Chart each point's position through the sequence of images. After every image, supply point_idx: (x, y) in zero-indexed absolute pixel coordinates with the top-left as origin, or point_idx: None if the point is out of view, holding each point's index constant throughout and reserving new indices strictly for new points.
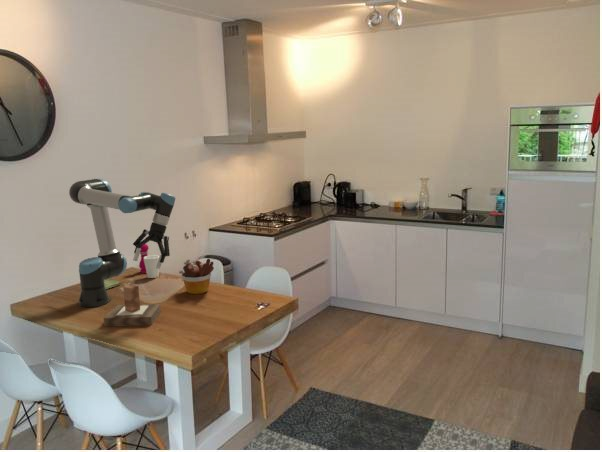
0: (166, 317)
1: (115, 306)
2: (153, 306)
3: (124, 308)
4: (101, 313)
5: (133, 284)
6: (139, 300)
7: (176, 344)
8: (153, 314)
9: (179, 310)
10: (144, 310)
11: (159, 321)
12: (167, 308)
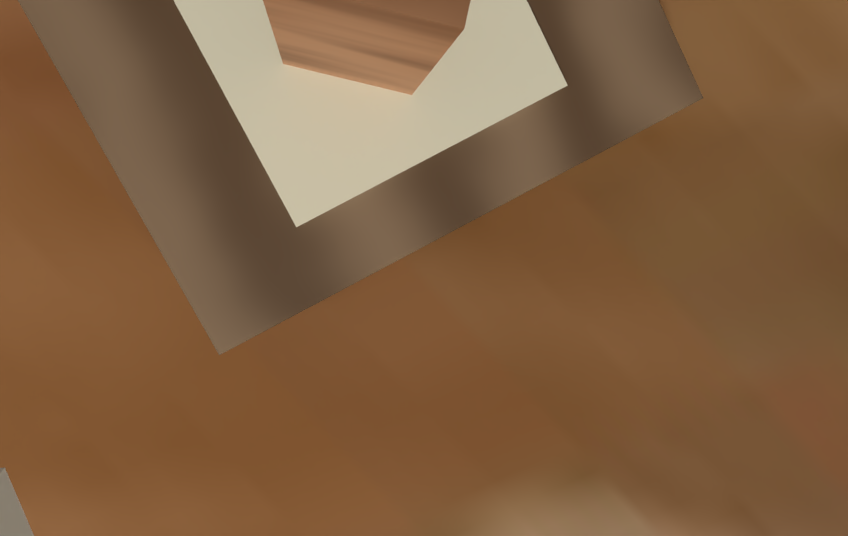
0: (30, 214)
1: (676, 61)
2: (232, 246)
3: (503, 20)
4: (800, 34)
5: (420, 14)
6: (275, 37)
7: None
8: (39, 34)
9: (50, 455)
10: (208, 57)
11: (14, 81)
12: (231, 449)
